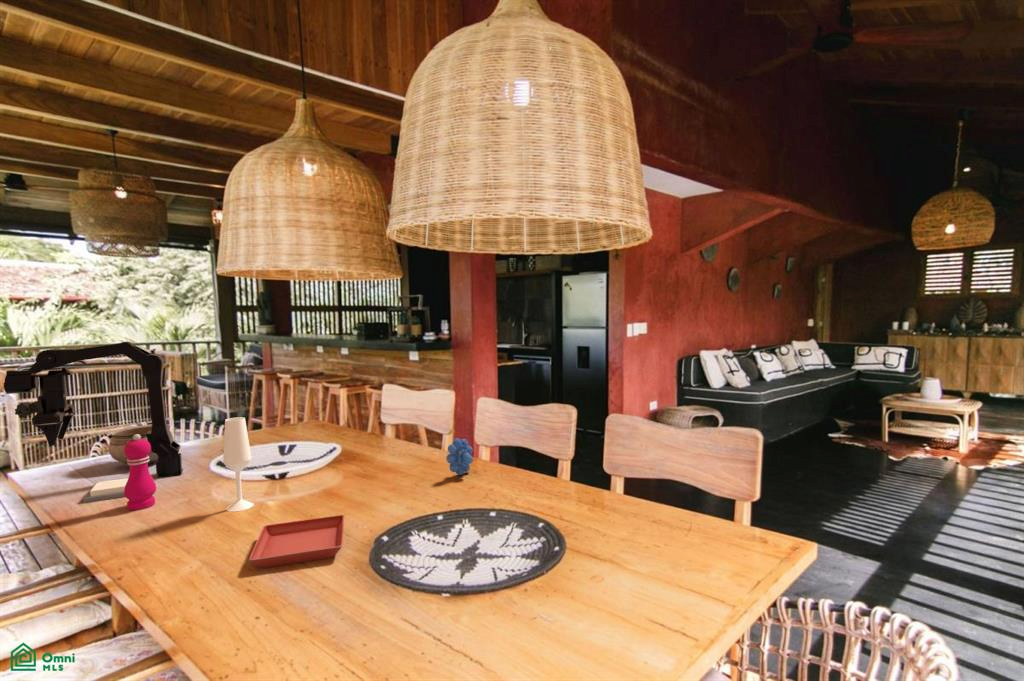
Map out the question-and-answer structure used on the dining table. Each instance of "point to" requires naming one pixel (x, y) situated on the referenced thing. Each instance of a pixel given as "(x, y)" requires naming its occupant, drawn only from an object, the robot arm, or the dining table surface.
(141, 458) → the pepper mill
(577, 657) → the dining table surface
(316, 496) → the dining table surface
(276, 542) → the plant saucer
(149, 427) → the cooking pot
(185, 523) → the dining table surface
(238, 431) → the champagne flute
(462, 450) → the grapes
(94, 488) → the grey square coaster
